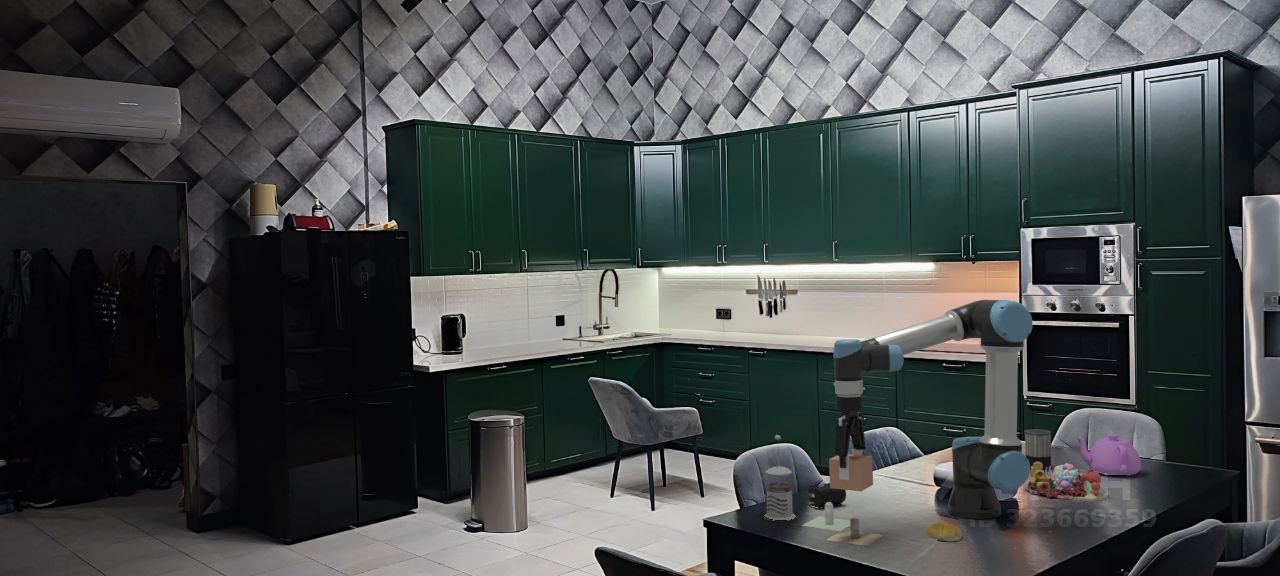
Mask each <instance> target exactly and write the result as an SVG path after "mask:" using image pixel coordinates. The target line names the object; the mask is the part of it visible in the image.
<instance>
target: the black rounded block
mask: <svg viewBox="0 0 1280 576" xmlns="http://www.w3.org/2000/svg"><path fill="white" fill-rule="evenodd" d="M807 489H808V493H810V494H812V495H813V496H810V495H809V496H808V501H809V502H810V503H809V506H810V505H812V506H815V507H818V508H817V509H820V508H821V507H823V508H825V504H826V503H827V502H830V503H832V504H833V505H834V506H837V505H836V504H840V505H842V504H843V503H844V502H845V501H846V498H847V490H843V489H834V488H830V482H827V483H823V485H822V486H820V485H817V484H814V485H810V486H808V488H807ZM812 506H811V507H812ZM815 507H814V508H815Z"/></svg>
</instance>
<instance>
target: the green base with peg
mask: <svg viewBox="0 0 1280 576" xmlns="http://www.w3.org/2000/svg"><path fill="white" fill-rule="evenodd" d="M801 526H802V527H809V528H816V529H823V530H830V531H836V532H840V531H842V530H843V529H844V530H846V529H847V528H849V527H850V519H841V518H834V506H833V504H832V503H830V502H827V503H826V504H825V507H824V516H821V515H820V516H819V515H818V516H816V517H815V518H813V519H811V520H809V521H808V522H805V523H804V524H802V525H801Z"/></svg>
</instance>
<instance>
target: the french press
mask: <svg viewBox="0 0 1280 576" xmlns="http://www.w3.org/2000/svg"><path fill="white" fill-rule="evenodd" d="M774 439H775V440H781V439H782V437H781V436H780V435H778V434H776V435H775V436H774ZM765 474H766V475H763V476H762V477H760V478H759V480H758V484H757V490H758V493H759V495H760V497H762V499H764V500H765V501H766V513H765V514H764V516H765V517H767V518H769V519H773V520H772V521H775V520H787V521H792V520H795V519H796V518H797V516H796V515H795V514H794V512H793V490H792V488H791V486H792V484H791V483H788V482H780V481H777V482H770V483H768V484H767V487H768V488H767V490H766V495H765V493H764V492H763V490H762V481H763V479H764V478H765V481H768V480H769V479H770V476H773V477H775V476H776V477H785V476H791V474H793V471H792V470H791V469H789V468H788V467H785V466H780V453H779V447H777V466H772V467H769V468H768V469H767V470H765ZM760 491H761V492H760ZM781 491H782V492H781ZM765 517H764V518H765ZM795 517H796V518H795ZM794 518H795V519H794ZM769 519H768V520H769ZM791 519H792V520H791Z"/></svg>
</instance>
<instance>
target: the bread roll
mask: <svg viewBox="0 0 1280 576" xmlns="http://www.w3.org/2000/svg"><path fill="white" fill-rule="evenodd" d="M926 532H927V533H926V534H927V536H928V537H930V538H932V539H937V541H938V542H942V541H943V542H947V543H948V542H949V543H952V542H957V541H960V540H961V539H962V537H963V531H962V529H960V528H959V527H958V526H957V525H956V524H953V523H947V524H943V523H940V522H939V523H938V522H937V523H936V522H935V523H934V524H931V525H929V527H928V528H927V531H926Z"/></svg>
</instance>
